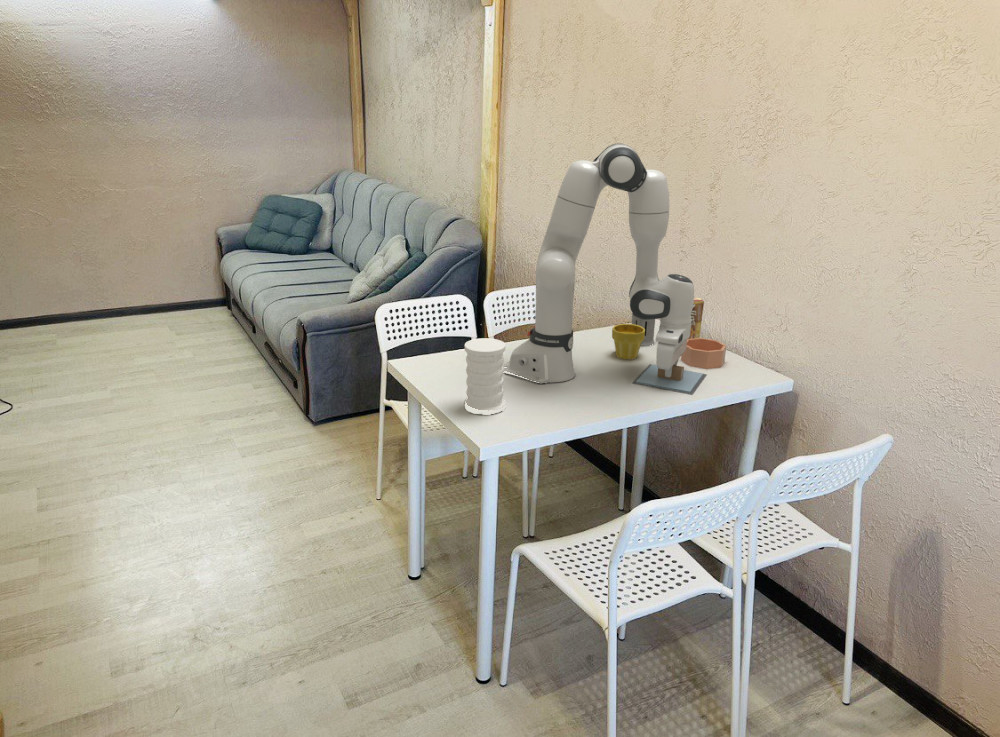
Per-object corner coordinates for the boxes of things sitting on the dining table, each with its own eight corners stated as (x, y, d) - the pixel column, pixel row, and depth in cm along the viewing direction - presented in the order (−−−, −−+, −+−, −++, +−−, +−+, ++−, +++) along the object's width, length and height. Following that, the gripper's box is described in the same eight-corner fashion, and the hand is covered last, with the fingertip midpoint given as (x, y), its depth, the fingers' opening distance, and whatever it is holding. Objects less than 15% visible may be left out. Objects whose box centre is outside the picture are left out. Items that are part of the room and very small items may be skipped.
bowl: (677, 365, 224) (679, 347, 222) (687, 353, 234) (689, 336, 232) (718, 372, 218) (720, 354, 216) (726, 359, 229) (728, 342, 226)
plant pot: (633, 364, 224) (635, 335, 220) (604, 357, 230) (606, 329, 226) (648, 355, 232) (650, 327, 228) (620, 349, 237) (622, 321, 234)
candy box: (693, 339, 247) (698, 297, 242) (699, 343, 244) (704, 300, 238) (670, 341, 246) (674, 298, 240) (676, 345, 242) (680, 301, 236)
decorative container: (457, 402, 196) (456, 340, 189) (495, 395, 200) (496, 335, 194) (473, 418, 186) (472, 354, 179) (513, 411, 190) (514, 348, 184)
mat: (631, 384, 209) (631, 383, 208) (649, 365, 223) (649, 364, 223) (692, 396, 201) (692, 395, 201) (707, 375, 215) (707, 374, 215)
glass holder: (656, 340, 247) (660, 298, 241) (648, 352, 234) (652, 309, 229) (631, 336, 250) (635, 295, 244) (622, 349, 238) (625, 306, 232)
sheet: (635, 382, 209) (636, 370, 207) (651, 365, 222) (653, 353, 221) (689, 393, 202) (691, 380, 200) (703, 375, 215) (704, 362, 213)
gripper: (673, 319, 216) (669, 361, 221) (654, 337, 199) (650, 383, 204) (694, 322, 213) (689, 364, 218) (676, 341, 197) (671, 387, 202)
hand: (670, 373), depth 211 cm, fingers closed on sheet, 3 cm apart
